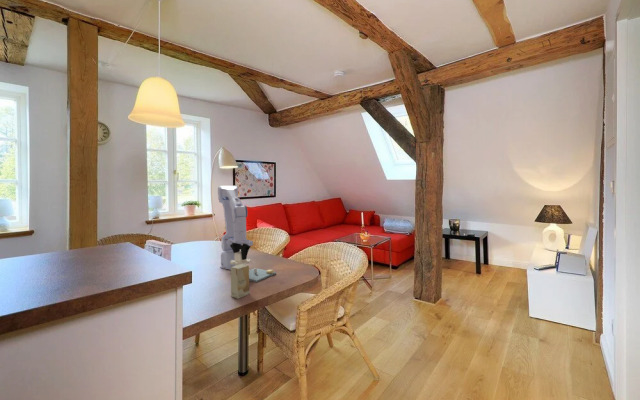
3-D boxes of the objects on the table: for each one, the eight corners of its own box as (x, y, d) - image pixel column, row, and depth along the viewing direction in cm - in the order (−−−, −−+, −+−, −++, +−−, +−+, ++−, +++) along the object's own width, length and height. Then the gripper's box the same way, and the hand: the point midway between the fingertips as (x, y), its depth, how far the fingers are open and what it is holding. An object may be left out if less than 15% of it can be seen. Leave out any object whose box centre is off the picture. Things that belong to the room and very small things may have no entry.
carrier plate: (234, 277, 146) (234, 269, 146) (254, 269, 158) (254, 262, 158) (256, 282, 139) (256, 274, 139) (275, 273, 151) (275, 266, 151)
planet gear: (227, 263, 145) (227, 253, 144) (240, 259, 152) (240, 249, 152) (240, 266, 140) (240, 255, 140) (253, 261, 148) (253, 251, 147)
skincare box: (238, 299, 120) (237, 268, 119) (230, 297, 122) (229, 267, 121) (250, 293, 125) (249, 264, 125) (242, 291, 128) (241, 263, 127)
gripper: (223, 230, 145) (223, 258, 146) (245, 233, 138) (245, 262, 139) (234, 228, 151) (234, 255, 152) (255, 231, 144) (256, 259, 145)
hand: (240, 258), depth 146 cm, fingers closed on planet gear, 4 cm apart
